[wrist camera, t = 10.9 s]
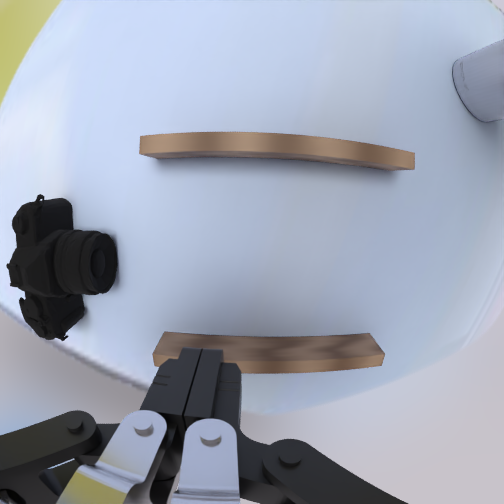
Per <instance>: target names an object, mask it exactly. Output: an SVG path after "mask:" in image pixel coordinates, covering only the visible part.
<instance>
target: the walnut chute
mask: <svg viewBox="0 0 504 504" xmlns="http://www.w3.org/2000/svg"><path fill="white" fill-rule="evenodd" d="M139 154H141V155H145V156H149V157H153V158H156V159H161V158H185V157H252V158H276V159H293V160H306V161H318V162H328V163H338V164H347V165H355V166H362V167H370V168H376V169H383V170H389V171H395V170H414V167H415V153H413V152H409V151H404V150H399V149H394V148H389V147H384V146H379V145H373V144H367V143H361V142H355V141H348V140H341V139H333V138H324V137H315V136H305V135H293V134H278V133H258V132H192V133H172V134H158V135H146V136H140V151H139ZM183 347H191V348H202V349H204V348H207V349H223V354H224V362H225V363H236V364H237V365H238V367H239V369H240V370H241V373H308V372H325V371H338V370H349V369H359V368H368V367H376V366H382V363H383V359H384V356H385V353H384V352H383V351H382V349H381V348H380V347H379V345H378V344H377V343H376V341H375V340H374V339H373V337H372V336H371V335H370V333H367V334H353V335H335V336H307V337H247V336H219V335H201V334H186V333H174V332H164V333H163V335H162V337H161V339H160V341H159V343H158V345H157V346H156V348H155V350H154V352H153V354H152V355H153V360H154V366H157V367H160V365H162V364H163V363H164V362H165V361H166V360H168V359H169V358H171V359H178V357H179V355H180V353H181V350H182V348H183Z"/></svg>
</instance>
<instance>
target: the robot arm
mask: <svg viewBox="0 0 504 504" xmlns="http://www.w3.org/2000/svg"><path fill="white" fill-rule="evenodd" d="M453 78H454V82H455V86H456V88H457V91H458V93H459V95H460V97H461V99H462V101H463V103H464V104H465V106H466V107H467V109H468V110H469V111H470V112H471V113H472V114H473V115H474V116H475V117H476V118H477V119H479V120H481V121H484V122H489V121H495V120H502V119H504V39H503V40H501V41H498V42H496V43H493V44H491V45H489V46H487V47H484V48H482V49H480V50H478V51H475V52H473V53H471V54H469V55H467V56H465V57H463V58H461V59H459V60H457V61H456V62H455V63H454V66H453ZM240 416H241V370H240V369H239V367H238V365H237V364H236V363H225V362H224V354H223V349H207V348H204V349H202V348H191V347H183V348H182V350H181V353H180V355H179V357H178V359H171V358H169V359H168V360H166V361H165V362H164V363H163V364H162V365H160V367H159V369H158V371H157V373H156V376H155V378H154V380H153V383H152V384H151V386H150V388H149V390H148V393H147V395H146V397H145V399H144V401H143V403H142V406H141V408H140V410H139V411H135V412H132V413H130V414H128V415H127V416H126V417H125V418H124V419H123V420H122V422H121V423H119V424H96V422H95V420H94V418H93V417H92V416H91V415H90V414H88V413H87V412H84V411H70V412H67V413H64V414H62V415H59V416H56V417H54V418H51V419H48V420H46V421H43V422H40V423H37V424H34V425H31V426H29V427H26V428H23V429H20V430H17V431H14V432H10V433H7V434H4V435H0V504H240V498H243V499H246V500H249V501H253V502H257V503H260V504H408V503H406V502H404V501H402V500H400V499H397V498H396V497H393V496H392V495H390V494H388V493H386V492H384V491H382V490H380V489H378V488H377V487H375V486H373V485H371V484H370V483H368V482H366V481H364V480H363V479H361V478H359V477H358V476H356V475H354V474H353V473H351V472H349V471H348V470H346V469H345V468H343V467H341V466H340V465H338V464H337V463H335V462H334V461H332V460H331V459H329V458H328V457H326V456H325V455H323V454H322V453H320V452H319V451H317V450H316V449H315V448H313V447H312V446H310V445H309V444H307V443H306V442H303V441H300V440H295V439H284V440H279V441H277V442H274V443H272V444H271V445H267V444H263V443H259V442H256V441H253V440H251V439H249V438H248V437H246V436H245V435H244V434H243V433H242V432H241V430H240ZM73 458H74V459H75V460H72V461H70V462H68V463H65V464H62V465H60V466H57V467H55V468H52V469H47V468H50V467H52V466H55V465H58V464H60V463H63V462H65V461H68V460H70V459H73ZM180 467H181V468H180ZM178 483H179V487H178V490H177V491H176V489H177V486H178Z"/></svg>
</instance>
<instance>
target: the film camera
mask: <svg viewBox="0 0 504 504" xmlns="http://www.w3.org/2000/svg"><path fill="white" fill-rule="evenodd" d="M40 199H42V201H40ZM12 227H13V230H14V232H15V233H16V243H17V248H16V249H15V251H14V253H13V255H12V258H11V260H10V263H9V264H8V263H7V265H6V266H7V269H8V270H9V275H10V280H11V283H10V286H12V287H18V288H19V289H20V290H22V291H25V297H26V299H25V300H24V299H23V298H22V297H21V298H20V300H19V304H20V308H21V311H22V314H23V317H24V319H25V321H26V323H28V324H29V325H30V326H31V327H32V329H33V330H34V331H35V332H36V334H37V335H38V336H39V337H42V338H45V339H47V340H53V339H54V338H58V339H61V340H62V341H64V340H65V339H66V338H67V337H69V336H65V335H66V332H67V331H68V330H69V329H70V328H71V327H72V326H73V325H75V324H76V323H77V322H78V321H79V320H80V319H81V318H82V317H83V315H84V310H85V308H84V303H83V298H82V294H86V295H97V294H99V293H102V294H103V293H106V292H108V291H109V289H110V288H111V286H112V285H113V283H114V281H115V277H116V271H117V254H116V247H115V244H114V242H113V240H112V238H111V237H110V236H109V235H108V234H102V233H100V232H99V231H82V230H73V218H72V205H71V204H70V203H69V202H68V201H67V200H66V199H63V198H56V199H51V200H44V196H43V195H41V194H40V195H38V196H37V199H36V201H35V202H29V203H26V204H24V205H22V206H21V207H20V209H19V210H18V211H17V213H16V215H15V216H14V218H13V220H12ZM64 336H65V337H64Z"/></svg>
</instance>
